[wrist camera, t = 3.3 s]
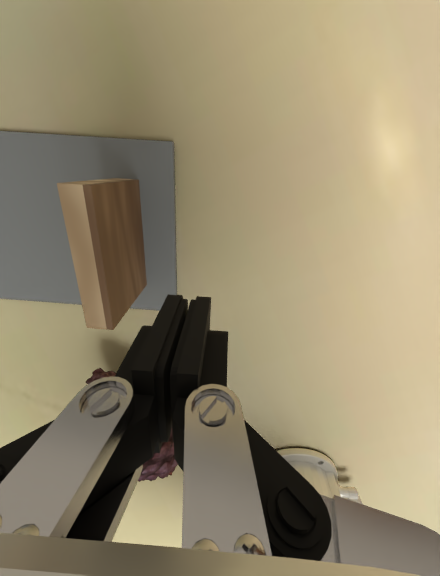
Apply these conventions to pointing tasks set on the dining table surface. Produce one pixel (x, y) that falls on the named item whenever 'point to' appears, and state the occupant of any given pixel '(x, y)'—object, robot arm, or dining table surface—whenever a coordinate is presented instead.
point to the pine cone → (160, 462)
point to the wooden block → (105, 246)
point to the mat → (50, 221)
